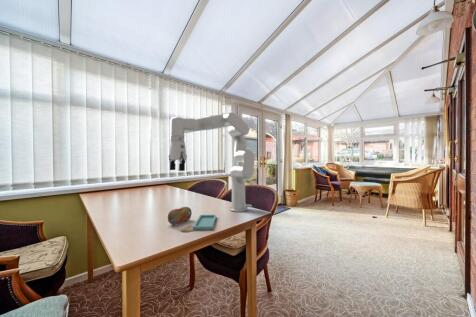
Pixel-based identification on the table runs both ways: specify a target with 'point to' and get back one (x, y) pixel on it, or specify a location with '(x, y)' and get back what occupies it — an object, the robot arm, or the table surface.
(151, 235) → the table surface
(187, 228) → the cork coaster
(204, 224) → the tray
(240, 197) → the robot arm
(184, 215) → the tin
